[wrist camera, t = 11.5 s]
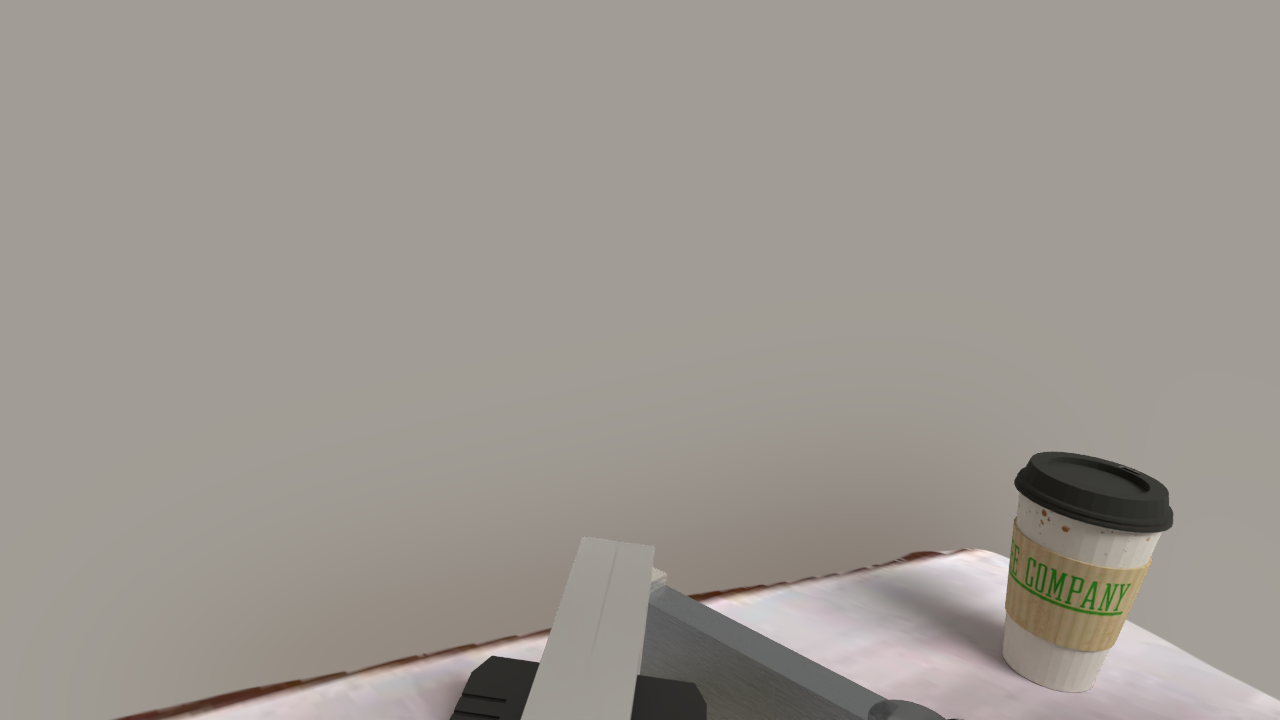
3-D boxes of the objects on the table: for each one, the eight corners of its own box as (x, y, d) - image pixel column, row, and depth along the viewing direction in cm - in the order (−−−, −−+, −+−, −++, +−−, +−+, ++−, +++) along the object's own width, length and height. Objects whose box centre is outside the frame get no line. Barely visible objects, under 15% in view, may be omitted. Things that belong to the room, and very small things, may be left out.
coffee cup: (947, 638, 63) (989, 452, 59) (1036, 618, 67) (1080, 444, 63) (1060, 723, 54) (1118, 512, 50) (1154, 693, 59) (1213, 497, 55)
